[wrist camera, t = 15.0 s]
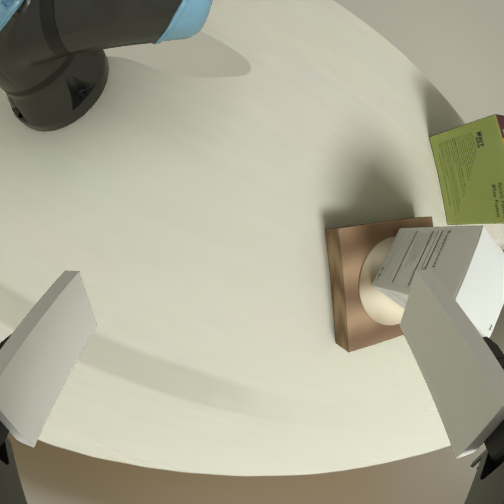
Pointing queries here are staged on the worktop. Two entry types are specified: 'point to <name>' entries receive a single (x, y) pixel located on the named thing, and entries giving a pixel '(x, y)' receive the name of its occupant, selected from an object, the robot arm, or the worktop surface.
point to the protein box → (472, 171)
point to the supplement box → (449, 269)
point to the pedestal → (364, 282)
